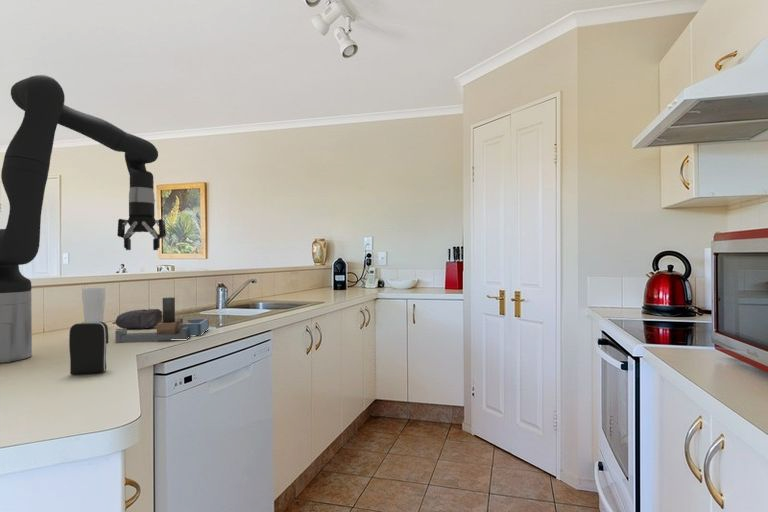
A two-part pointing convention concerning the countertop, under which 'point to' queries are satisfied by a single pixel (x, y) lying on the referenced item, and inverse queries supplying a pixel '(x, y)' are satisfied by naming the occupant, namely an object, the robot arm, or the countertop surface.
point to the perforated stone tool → (139, 319)
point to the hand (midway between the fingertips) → (142, 250)
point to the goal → (196, 326)
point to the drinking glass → (93, 303)
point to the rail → (149, 336)
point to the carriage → (169, 318)
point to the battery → (88, 347)
